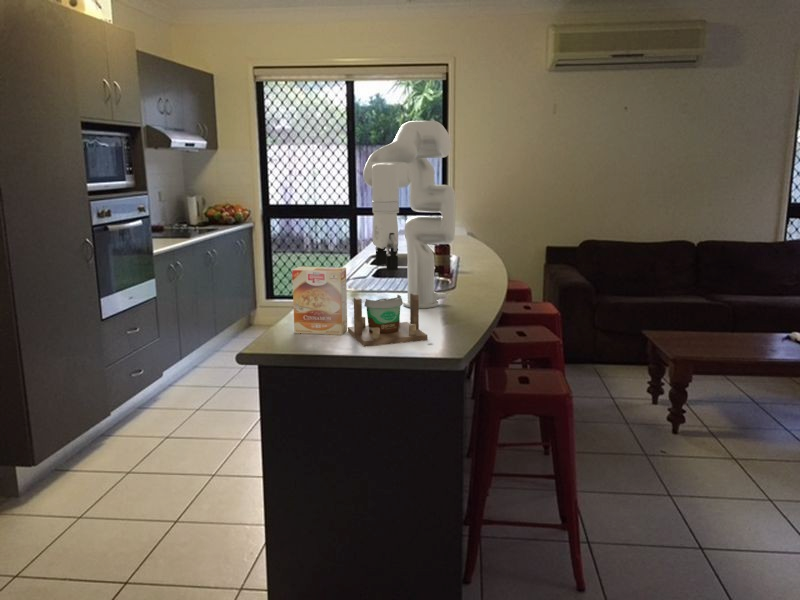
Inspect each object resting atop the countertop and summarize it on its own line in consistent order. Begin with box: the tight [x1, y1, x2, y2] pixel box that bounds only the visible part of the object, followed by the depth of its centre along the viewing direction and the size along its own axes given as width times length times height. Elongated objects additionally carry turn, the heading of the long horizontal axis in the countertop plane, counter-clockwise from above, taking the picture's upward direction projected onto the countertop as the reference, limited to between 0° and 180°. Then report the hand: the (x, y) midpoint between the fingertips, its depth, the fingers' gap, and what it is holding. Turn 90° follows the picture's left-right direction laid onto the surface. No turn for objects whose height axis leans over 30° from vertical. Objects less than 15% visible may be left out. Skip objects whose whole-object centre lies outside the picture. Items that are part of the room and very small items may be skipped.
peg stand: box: [347, 293, 428, 347], centre depth 195 cm, size 19×17×12 cm
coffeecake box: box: [291, 266, 348, 336], centre depth 199 cm, size 15×7×20 cm, turn 81°
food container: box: [364, 294, 404, 334], centre depth 194 cm, size 12×6×10 cm, turn 125°
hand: (386, 266), depth 192 cm, fingers open, 9 cm apart
